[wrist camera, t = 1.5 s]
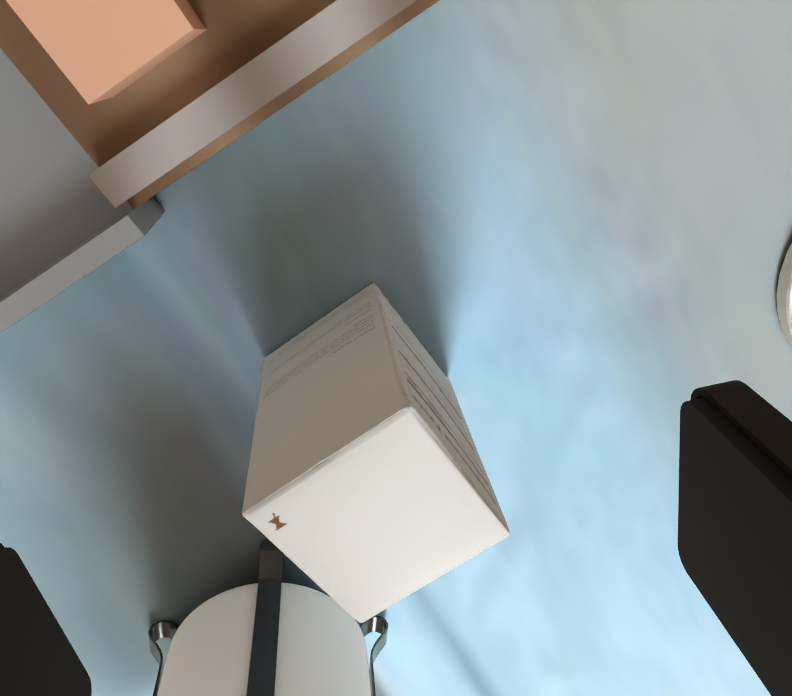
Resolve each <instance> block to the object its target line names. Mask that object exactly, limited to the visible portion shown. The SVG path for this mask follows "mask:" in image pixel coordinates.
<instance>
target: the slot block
mask: <svg viewBox="0 0 792 696" xmlns="http://www.w3.org/2000/svg"><path fill="white" fill-rule="evenodd" d="M187 1H188V2H189V4H190V5H191V7H192V8H193V10H194V11H195V13H196V14H197V16H198V17H199V19H200V20H201V22H202V23H203V25H204V26H205V28H206V29H207V30H205V31H204V32H203V33H201V34H200V35H199V36H197V37H196V38H194V39H193V40H192V41H190V42H189V43H187V44H186V45H185V46H183V47H182V48H180V49H179V50H178V51H176V52H175V53H173V54H172V55H171V56H169V57H168V58H167V59H165V60H164V61H162V62H161V63H160V64H158V65H157V66H155V67H154V68H153V69H151V70H150V71H148V72H147V73H146V74H144V75H143V76H142V77H140V78H139V79H137V80H136V81H135V82H133V83H132V84H130V85H129V86H128V87H126V88H125V89H123V90H122V91H121V92H119V93H118V94H117V95H115V96H114V97H112V98H108V99H105V100H102V101H99V102H95V103H92V104H88V103H87V102H86V101H85V99H84V98H83V97H82V96H81V94H80V93H79V92H78V91H77V89H76V88H75V87H74V86H73V84H72V83H71V82H70V81H69V79H68V78H67V77H66V76H65V74H64V73H63V72H62V71H61V69H60V68H59V67H58V66H57V64H56V63H55V62H54V60H53V59H52V58H51V57H50V55H49V54H48V53H47V52H46V50H45V49H44V48H43V47H42V45H41V44H40V43H39V42H38V40H37V39H36V38H35V37H34V35H33V34H32V33H31V32H30V30H29V29H28V28H27V27H26V25H25V24H24V23H23V22H22V20H21V19H20V18H19V17H18V15H17V14H16V13H15V11H14V10H13V9H12V8H11V6H10V5H9V4H8V3H7V1H6V0H0V48H1V50H2V51H3V52H4V53H5V54H6V56H7V57H8V58H9V59H10V60H11V62H12V63H13V64H14V65H15V66H16V68H17V69H18V70H19V71H20V73H21V74H22V75H23V76H24V77H25V79H26V80H27V81H28V82H29V83H30V85H31V86H32V87H33V88H34V89H35V91H36V92H37V93H38V94H39V96H40V97H41V98H42V99H43V100H44V102H45V103H46V104H47V105H48V106H49V108H50V109H51V110H52V111H53V113H54V114H55V115H56V116H57V117H58V119H59V120H60V121H61V122H62V123H63V125H64V126H65V127H66V128H67V129H68V131H69V132H70V133H71V134H72V136H73V137H74V138H75V139H76V140H77V142H78V143H79V144H80V145H81V146H82V148H83V149H84V150H85V151H86V152H87V154H88V155H89V156H90V157H91V159H92V160H93V161H94V162H95V163H96V165H97V166H98V167H99V168H97V169H96V170H95V171H93V172H92V173H90V174H89V175H88V176H89V177H90V179H91V180H92V181H93V182H94V183H95V185H96V186H97V187H98V188H99V189H100V191H101V192H102V193H103V194H104V195H105V197H106V198H107V199H108V200H109V201H110V202H111V204H112V205H113V206H114V207H115V208H116V207H118V206H119V205H120V204H122V203H123V202H125V201H127V202H128V203H129V205H130V206H131V207H132V208H133V209H135V208H137V207H138V206H140V205H141V204H142V203H144V202H145V201H147V200H148V199H150V198H151V197H153V196H154V195H156V194H157V193H158V192H160V191H161V190H163V189H164V188H166V187H167V186H169V185H170V184H172V183H173V182H175V181H176V180H177V179H179V178H180V177H182V176H183V175H185V174H186V173H188V172H189V171H191V170H192V169H194V168H195V167H196V166H198V165H199V164H201V163H202V162H204V161H205V160H207V159H208V158H210V157H211V156H213V155H214V154H215V153H217V152H218V151H220V150H221V149H223V148H224V147H226V146H227V145H229V144H230V143H232V142H233V141H234V140H236V139H237V138H239V137H240V136H242V135H243V134H245V133H246V132H248V131H249V130H251V129H252V128H253V127H255V126H256V125H258V124H259V123H261V122H262V121H264V120H265V119H267V118H268V117H269V116H271V115H272V114H274V113H275V112H277V111H278V110H280V109H281V108H283V107H284V106H286V105H287V104H288V103H290V102H291V101H293V100H294V99H296V98H297V97H299V96H300V95H302V94H303V93H305V92H306V91H307V90H309V89H310V88H312V87H313V86H315V85H316V84H318V83H319V82H321V81H322V80H324V79H325V78H326V77H328V76H329V75H331V74H332V73H334V72H335V71H337V70H338V69H340V68H341V67H343V66H344V65H345V64H347V63H348V62H350V61H351V60H353V59H354V58H356V57H357V56H359V55H360V54H361V53H363V52H364V51H366V50H367V49H369V48H370V47H372V46H373V45H375V44H376V43H378V42H379V41H380V40H382V39H383V38H385V37H386V36H388V35H389V34H391V33H392V32H394V31H395V30H397V29H398V28H399V27H401V26H402V25H404V24H405V23H407V22H408V21H410V20H411V19H413V18H414V17H416V16H417V15H418V14H420V13H421V12H423V11H424V10H426V9H427V8H429V7H430V6H432V5H433V4H435V3H436V2H437V1H439V0H187Z"/></svg>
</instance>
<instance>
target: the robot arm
mask: <svg viewBox="0 0 792 696" xmlns="http://www.w3.org/2000/svg"><path fill="white" fill-rule="evenodd" d="M777 312H778V317H779V321H780V324H781V328H782V331H783V333H784V334H785V336H786V338H787V339H788V341H789V343H790V344H791V346H792V244H791V245H790V247H789V249H788V251H787V254H786V256H785V259H784V262H783V265H782V268H781V271H780V275H779V282H778V288H777ZM678 551H679V555H680V559H681V562H682V564H683V566H684V568H685V570H686V572H687V574H688V575H689V576H690V578H691V579H692V581H693V582H694V584H695V585H696V587H697V588H698V590H699V591H700V592H701V594H702V595H703V597H704V598H705V600H706V601H707V603H708V604H709V606H710V607H711V608H712V610H713V611H714V613H715V614H716V616H717V617H718V619H719V620H720V622H721V623H722V624H723V626H724V627H725V629H726V630H727V632H728V633H729V635H730V636H731V638H732V639H733V640H734V642H735V643H736V645H737V646H738V648H739V649H740V651H741V652H742V654H743V655H744V656H745V658H746V659H747V661H748V662H749V664H750V665H751V667H752V668H753V670H754V671H755V672H756V674H757V675H758V677H759V678H760V680H761V681H762V683H763V684H764V686H765V687H766V688H767V690H768V691H769V693H770V694H771V696H792V422H791V421H790V420H789V419H788V418H786V417H785V416H784V415H783V414H782V413H780V412H779V411H778V410H777V409H775V408H774V407H773V406H772V405H771V404H769V403H768V402H767V401H766V400H764V399H763V398H762V397H761V396H760V395H758V394H757V393H756V392H755V391H753V390H752V389H751V388H750V387H748V386H747V385H746V384H745V383H743V382H741V381H737V380H734V381H729V382H724V383H720V384H715V385H710V386H706V387H701V388H697V389H695V390H694V391H693V393H692V395H691V400H690V401H686V402H684V403H683V404H682V406H681V411H680V455H679V509H678ZM91 692H92V691H91V681H90V678H89V675H88V673H87V671H86V670H85V668H84V666H83V664H82V663H81V661H80V659H79V658H78V656H77V654H76V652H75V651H74V649H73V647H72V646H71V644H70V642H69V641H68V639H67V637H66V635H65V634H64V632H63V630H62V629H61V627H60V625H59V623H58V622H57V620H56V618H55V617H54V615H53V613H52V611H51V610H50V608H49V606H48V605H47V603H46V601H45V600H44V598H43V596H42V594H41V593H40V591H39V589H38V588H37V586H36V584H35V582H34V581H33V579H32V577H31V576H30V574H29V572H28V571H27V569H26V567H25V565H24V564H23V562H22V560H21V559H20V557H19V555H18V554H17V553H16V551H15V550H14V549H12V548H4V546H3V545H2V544H1V543H0V696H91Z"/></svg>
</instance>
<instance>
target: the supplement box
mask: <svg viewBox="0 0 792 696" xmlns="http://www.w3.org/2000/svg"><path fill="white" fill-rule="evenodd" d="M242 516H243V517H245V518H246V519H247V520H248V521H249V522H250V523H251V524H253V525H254V526H255V527H256V528H257V529H258V530H259V531H261V532H262V533H263V534H264V535H265V536H266V537H267V538H268V539H269V540H270V541H271V542H272V543H273V544H274V545H275V546H276V547H277V548H279V549H280V550H281V551H282V552H283V553H284V554H285V555H286V556H287V557H288V558H289V559H290V560H292V561H293V562H294V563H295V564H296V565H297V566H298V567H299V568H300V569H301V570H302V571H303V572H304V573H305V574H307V575H308V576H309V577H310V578H311V579H312V580H313V581H314V582H315V583H316V584H317V585H318V586H319V587H320V588H322V589H323V590H324V591H325V592H326V593H327V594H328V595H329V596H330V597H331V598H332V599H334V600H335V601H336V602H337V603H338V604H339V605H340V606H341V607H342V608H343V609H344V610H345V611H346V612H347V613H349V614H350V615H351V616H352V617H353V618H354V619H356V620H357V621H358V622H359V623H363V622H365V621H367V620H369V619H370V618H372V617H374V616H375V615H377V614H378V613H380V612H382V611H383V610H385V609H387V608H388V607H390V606H392V605H393V604H395V603H396V602H398V601H400V600H401V599H403V598H405V597H406V596H408V595H410V594H411V593H413V592H415V591H417V590H418V589H420V588H422V587H423V586H425V585H427V584H428V583H430V582H432V581H433V580H435V579H437V578H438V577H440V576H442V575H443V574H445V573H447V572H449V571H450V570H452V569H454V568H455V567H457V566H459V565H460V564H462V563H464V562H465V561H467V560H469V559H470V558H472V557H474V556H475V555H477V554H479V553H481V552H482V551H484V550H486V549H487V548H489V547H491V546H492V545H494V544H496V543H498V542H499V541H501V540H503V539H504V538H506V537H508V536H509V535H510V531H509V529H508V526H507V523H506V521H505V518H504V516H503V513H502V511H501V509H500V506H499V504H498V501H497V499H496V496H495V494H494V491H493V488H492V486H491V484H490V481H489V479H488V476H487V474H486V471H485V469H484V467H483V464H482V462H481V459H480V457H479V455H478V452H477V450H476V447H475V444H474V442H473V439H472V437H471V434H470V432H469V429H468V426H467V424H466V421H465V418H464V416H463V414H462V411H461V408H460V406H459V403H458V400H457V398H456V395H455V392H454V390H453V387H452V385H451V383H450V381H449V379H448V378H447V377H446V376H445V374H444V373H443V372H442V370H441V369H440V368H439V367H438V365H437V364H436V363H435V361H434V360H433V359H432V357H431V356H430V355H429V354H428V352H427V351H426V350H425V348H424V347H423V346H422V344H421V343H420V342H419V340H418V339H417V338H416V336H415V335H414V334H413V332H412V331H411V330H410V328H409V327H408V326H407V324H406V323H405V322H404V320H403V319H402V318H401V317H400V315H399V314H398V313H397V311H396V310H395V309H394V307H393V306H392V305H391V303H390V302H389V301H388V299H387V298H386V297H385V296H384V294H383V293H382V292H381V290H380V289H379V288H378V286H377V285H376V284H375V283H372V284H370V285H369V286H368V287H366V288H365V289H363V290H362V291H360V292H359V293H357V294H356V295H354V296H353V297H351V298H350V299H348V300H347V301H345V302H344V303H343V304H341V305H340V306H338V307H337V308H335V309H334V310H332V311H331V312H330V313H328V314H327V315H325V316H324V317H322V318H321V319H320V320H318V321H317V322H315V323H314V324H312V325H311V326H310V327H308V328H307V329H305V330H304V331H302V332H301V333H299V334H298V335H297V336H295V337H294V338H292V339H291V340H289V341H288V342H287V343H285V344H284V345H282V346H281V347H280V348H278V349H277V350H275V351H274V352H272V353H271V354H270V355H268V356H266V357H265V358H264V365H263V372H262V379H261V386H260V393H259V400H258V407H257V413H256V419H255V427H254V433H253V441H252V448H251V454H250V461H249V468H248V474H247V482H246V488H245V495H244V502H243V509H242Z"/></svg>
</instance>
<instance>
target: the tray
mask: <svg viewBox="0 0 792 696" xmlns="http://www.w3.org/2000/svg"><path fill="white" fill-rule="evenodd" d="M97 168H99V167H98V166H97V165H96V163H95V162H94V161H93V160H92V159H91V157H90V156H89V155H88V154H87V152H86V151H85V150H84V149H83V148H82V146H81V145H80V144H79V143H78V142H77V140H76V139H75V138H74V137H73V136H72V134H71V133H70V132H69V131H68V129H67V128H66V127H65V126H64V125H63V123H62V122H61V121H60V120H59V119H58V117H57V116H56V115H55V114H54V113H53V111H52V110H51V109H50V108H49V106H48V105H47V104H46V103H45V102H44V100H43V99H42V98H41V97H40V96H39V94H38V93H37V92H36V91H35V89H34V88H33V87H32V86H31V85H30V83H29V82H28V81H27V80H26V79H25V77H24V76H23V75H22V74H21V73H20V71H19V70H18V69H17V68H16V66H15V65H14V64H13V63H12V62H11V60H10V59H9V58H8V57H7V56H6V54H5V53H4V52H3V51H2V50H1V48H0V333H1V332H3V331H4V330H6V329H7V328H9V327H10V326H12V325H13V324H15V323H16V322H18V321H19V320H20V319H22V318H23V317H25V316H26V315H28V314H29V313H31V312H32V311H34V310H35V309H37V308H38V307H40V306H41V305H43V304H44V303H46V302H47V301H49V300H50V299H52V298H53V297H55V296H56V295H57V294H59V293H60V292H62V291H63V290H65V289H66V288H68V287H69V286H71V285H72V284H74V283H75V282H77V281H78V280H80V279H81V278H83V277H84V276H86V275H87V274H89V273H90V272H92V271H93V270H94V269H96V268H97V267H99V266H100V265H102V264H103V263H105V262H106V261H108V260H109V259H111V258H112V257H114V256H115V255H117V254H118V253H120V252H121V251H123V250H124V249H126V248H127V247H129V246H130V245H131V244H133V243H134V242H136V241H137V240H139V239H140V238H142V237H143V236H145V234H146V233H147V232H148V231H149V230H150V229H151V227H152V226H153V225H154V224H155V223H156V222H157V220H158V219H159V218H160V217H161V216H162V215H163V213H164V210H163V209H162V208H161V207H160V205H159V204H158V203H157V202H156V200H155V199H154V198H153V197H151V198H150V199H148V200H147V201H145V202H144V203H142V204H141V205H140V206H138V207H137V208H135V209H133V208H132V207H131V206H130V205H129V203H128V202H127V201H125V202H123V203H122V204H120V205H119V206H118V207H116V208H115V207H114V206H113V205H112V204H111V202H110V201H109V200H108V199H107V198H106V197H105V195H104V194H103V193H102V192H101V191H100V189H99V188H98V187H97V186H96V185H95V183H94V182H93V181H92V180H91V179H90V177H89V176H88V175H89V174H90V173H92V172H93V171H95V170H96V169H97Z"/></svg>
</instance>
